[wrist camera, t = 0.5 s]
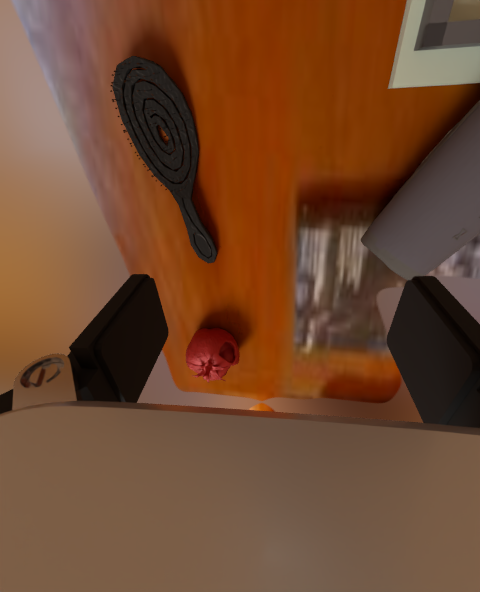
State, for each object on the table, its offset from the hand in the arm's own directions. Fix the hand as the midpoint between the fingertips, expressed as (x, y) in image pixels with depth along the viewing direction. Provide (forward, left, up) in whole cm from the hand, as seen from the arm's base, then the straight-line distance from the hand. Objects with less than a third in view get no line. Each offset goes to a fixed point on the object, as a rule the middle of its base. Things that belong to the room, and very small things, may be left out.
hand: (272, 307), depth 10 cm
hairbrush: (+1, -12, -29) cm, 32 cm away
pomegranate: (+31, -11, -29) cm, 43 cm away
